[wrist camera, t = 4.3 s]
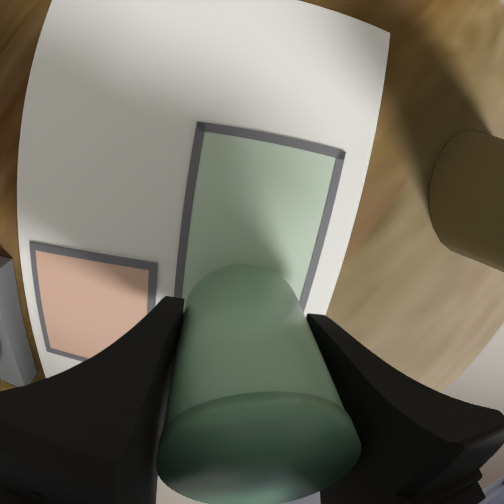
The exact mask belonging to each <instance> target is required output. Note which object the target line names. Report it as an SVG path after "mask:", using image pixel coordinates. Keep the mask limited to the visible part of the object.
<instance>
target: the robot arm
mask: <svg viewBox="0 0 504 504" xmlns="http://www.w3.org/2000/svg"><path fill="white" fill-rule="evenodd" d="M184 300H185V299H184V298H177V297H170V296H165V297H164V298H162V299H161V300H160V301H159V303H158V304H157V305H156V306H155V307H154V308H153V309H152V310H151V311H150V312H149V313H148V314H147V315H146V316H145V317H144V318H142V319H141V320H140V321H139V322H138V323H137V324H136V325H135V326H134V327H133V328H131V329H130V330H129V331H128V332H126V333H125V334H124V335H123V336H121V337H120V338H119V339H118V340H116V341H115V342H114V343H112V344H111V345H110V346H108V347H107V348H105V349H104V350H102V351H101V352H99V353H98V354H96V355H94V356H93V357H91V358H89V359H87V360H85V361H83V362H81V363H79V364H78V365H76V366H74V367H72V368H70V369H68V370H66V371H63V372H61V373H59V374H56V375H54V376H51V377H49V378H46V379H43V380H40V381H37V382H35V383H31V384H28V385H25V386H21V387H17V388H13V389H9V390H5V391H0V504H156V491H157V478H158V473H157V471H156V458H157V450H158V443H159V438H160V434H161V432H162V430H163V426H164V419H165V413H166V406H167V400H168V394H169V388H170V382H171V376H172V370H173V364H174V359H175V353H176V348H177V343H178V337H179V333H180V328H181V323H182V318H183V310H184ZM306 320H307V322H308V324H309V327H310V329H311V331H312V334H313V336H314V338H315V341H316V343H317V345H318V348H319V350H320V352H321V355H322V357H323V359H324V362H325V364H326V366H327V369H328V371H329V373H330V376H331V378H332V381H333V383H334V385H335V388H336V390H337V393H338V395H339V397H340V400H341V402H342V405H343V407H344V410H345V411H346V412H347V413H348V414H349V416H350V418H351V420H352V423H353V425H354V427H355V430H356V432H357V435H358V437H359V440H360V442H361V448H362V449H361V455H360V457H359V459H358V461H357V463H356V464H355V466H354V467H353V468H352V469H351V470H350V471H349V472H348V473H347V474H346V475H345V476H344V477H342V478H341V479H340V480H338V481H337V482H335V483H334V484H332V485H331V486H329V487H327V488H325V489H323V490H321V491H319V492H317V493H314V494H312V495H310V496H307V497H304V498H301V499H298V500H294V501H291V502H286V503H282V504H504V475H503V477H502V478H500V479H499V480H497V481H496V482H494V483H492V484H491V485H489V486H488V487H486V488H484V489H483V490H482V489H481V487H480V485H479V483H478V482H477V481H479V480H480V479H481V478H482V474H481V472H480V470H479V468H480V467H482V466H483V464H485V463H486V462H487V461H488V459H490V457H492V456H493V455H494V454H495V453H496V452H497V450H498V449H499V448H500V447H501V446H502V445H503V444H504V415H503V414H502V413H501V412H500V411H498V410H495V409H490V408H486V407H482V406H478V405H473V404H470V403H467V402H464V401H461V400H458V399H455V398H452V397H449V396H447V395H444V394H442V393H440V392H437V391H435V390H433V389H431V388H429V387H427V386H425V385H423V384H421V383H419V382H417V381H415V380H413V379H411V378H410V377H408V376H406V375H405V374H403V373H401V372H400V371H398V370H396V369H395V368H393V367H392V366H390V365H389V364H387V363H386V362H385V361H383V360H382V359H380V358H379V357H378V356H376V355H375V354H374V353H372V352H371V351H370V350H368V349H367V348H366V347H364V346H363V345H362V344H361V343H359V342H358V341H357V340H356V339H355V338H353V337H352V336H351V335H350V334H348V333H347V332H346V331H345V330H344V329H342V328H341V327H340V326H339V325H337V324H336V323H335V322H334V321H332V320H331V319H330V318H328V317H327V316H325V315H321V314H310V313H307V316H306Z"/></svg>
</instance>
